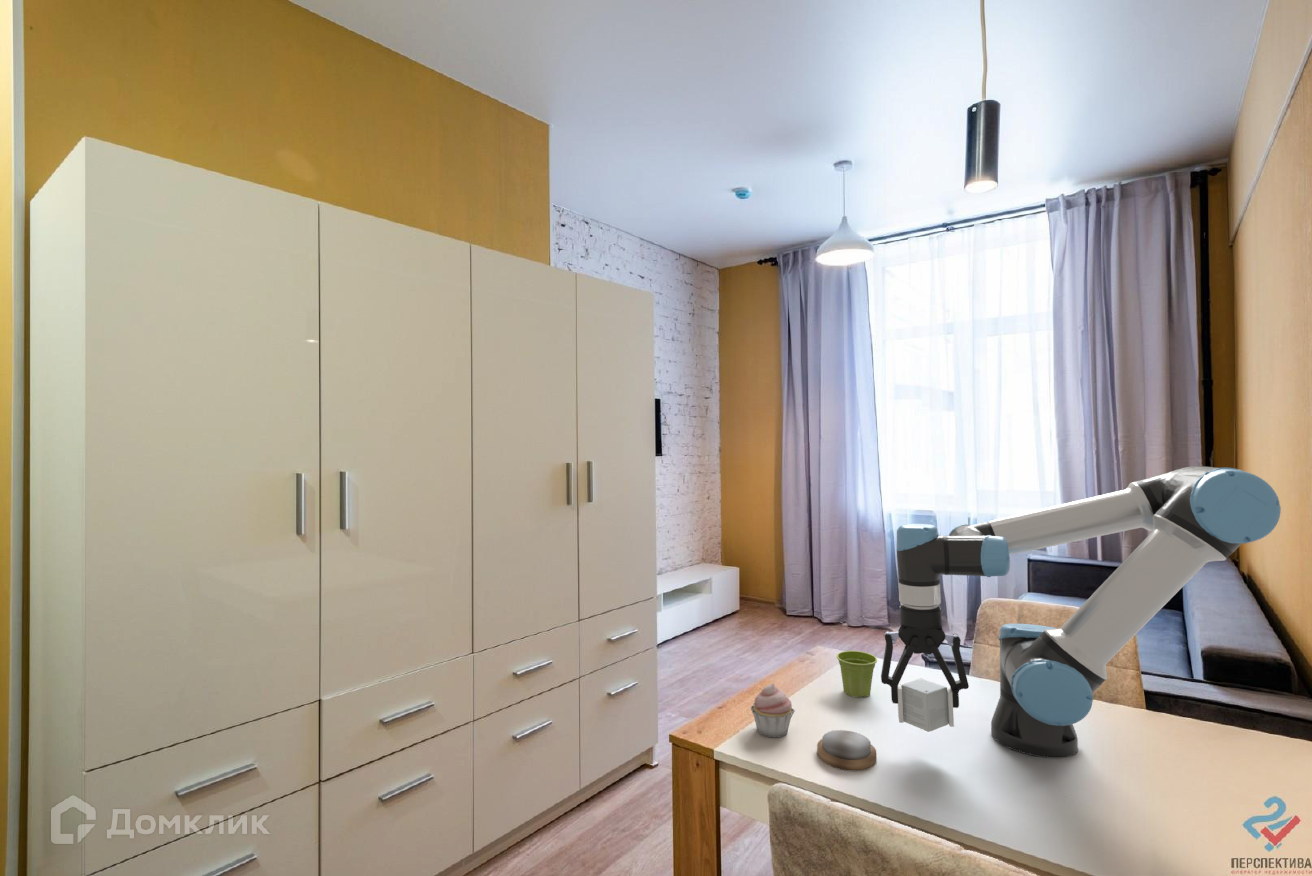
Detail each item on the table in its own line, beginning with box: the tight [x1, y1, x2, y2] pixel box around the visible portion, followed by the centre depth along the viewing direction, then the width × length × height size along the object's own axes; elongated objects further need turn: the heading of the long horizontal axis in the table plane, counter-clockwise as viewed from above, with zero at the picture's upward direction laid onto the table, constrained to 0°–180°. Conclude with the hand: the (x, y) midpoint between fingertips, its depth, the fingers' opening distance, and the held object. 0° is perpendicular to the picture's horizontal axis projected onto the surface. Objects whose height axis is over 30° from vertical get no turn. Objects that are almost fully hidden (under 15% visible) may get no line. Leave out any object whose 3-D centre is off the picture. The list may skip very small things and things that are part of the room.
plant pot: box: [836, 650, 878, 698], centre depth 157 cm, size 9×9×9 cm
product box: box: [901, 678, 949, 732], centre depth 126 cm, size 6×6×7 cm
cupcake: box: [750, 683, 796, 738], centre depth 137 cm, size 9×9×10 cm
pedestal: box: [816, 729, 877, 772], centre depth 126 cm, size 11×11×3 cm
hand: (925, 721), depth 126 cm, fingers closed on product box, 8 cm apart
